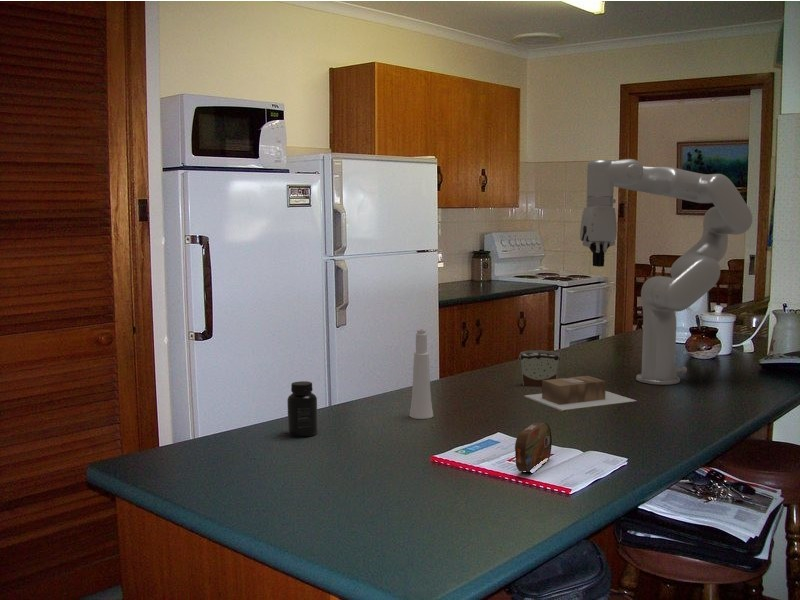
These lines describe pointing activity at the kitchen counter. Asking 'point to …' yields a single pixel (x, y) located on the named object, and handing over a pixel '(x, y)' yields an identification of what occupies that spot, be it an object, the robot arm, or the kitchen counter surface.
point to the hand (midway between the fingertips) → (598, 266)
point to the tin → (533, 446)
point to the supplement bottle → (302, 410)
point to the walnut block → (573, 390)
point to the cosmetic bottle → (421, 380)
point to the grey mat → (609, 399)
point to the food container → (538, 366)
